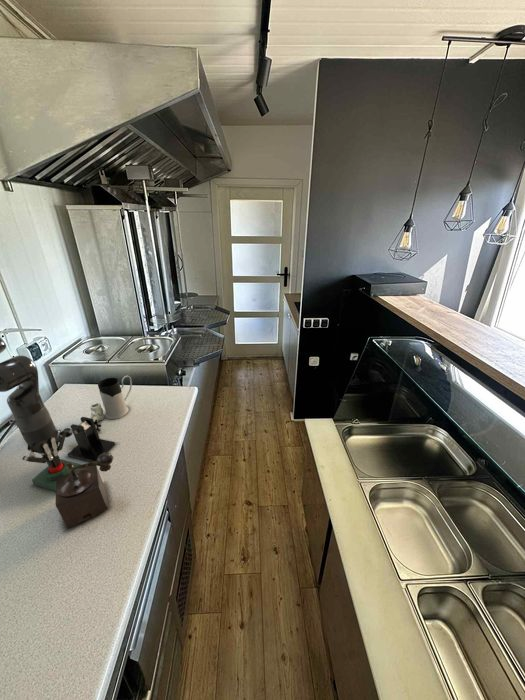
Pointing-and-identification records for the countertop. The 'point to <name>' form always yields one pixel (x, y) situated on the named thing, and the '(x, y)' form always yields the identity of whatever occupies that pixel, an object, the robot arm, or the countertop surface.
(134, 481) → the countertop surface
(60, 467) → the button
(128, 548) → the countertop surface
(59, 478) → the brown coffee grinder
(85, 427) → the lever
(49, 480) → the button block
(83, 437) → the bracket
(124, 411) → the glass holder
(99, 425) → the valve
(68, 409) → the countertop surface
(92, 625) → the countertop surface
